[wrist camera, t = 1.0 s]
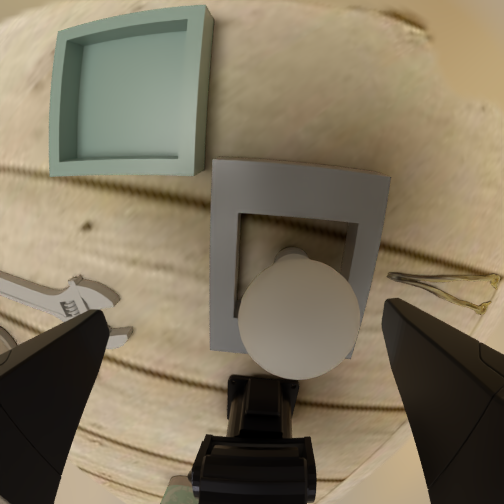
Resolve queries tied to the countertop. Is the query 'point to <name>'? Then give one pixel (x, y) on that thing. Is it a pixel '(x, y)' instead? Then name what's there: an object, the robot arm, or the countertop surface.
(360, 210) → the socket board
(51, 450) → the robot arm
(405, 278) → the tongs
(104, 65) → the parts tray
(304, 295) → the lightbulb
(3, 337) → the travel mug
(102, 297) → the adjustable wrench
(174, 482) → the coffee cup
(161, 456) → the countertop surface
